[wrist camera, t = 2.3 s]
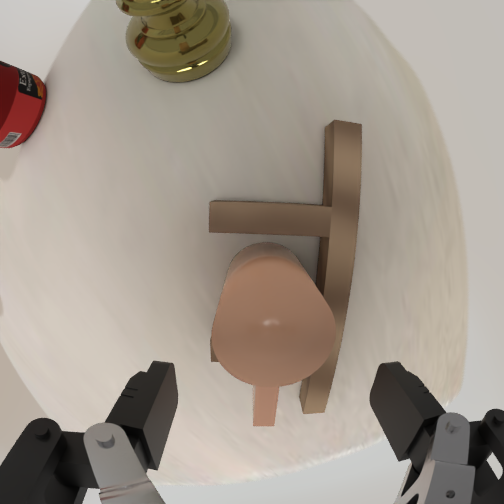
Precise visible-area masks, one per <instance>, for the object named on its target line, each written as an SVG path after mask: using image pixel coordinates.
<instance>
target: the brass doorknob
mask: <svg viewBox="0 0 504 504" xmlns="http://www.w3.org/2000/svg"><path fill="white" fill-rule="evenodd" d="M116 4H117V6H118V8H119V9H120V10H121V11H122V12H123V13H125V14H127V15H130V16H133V17H132V18H131V20H130V22H129V24H128V26H127V30H126V44H127V47H128V49H129V51H130V52H131V54H132V55H133V56H134V57H135V58H137V59H138V60H139V62H140V63H141V64H142V65H143V66H144V67H145V68H146V69H148V71H149V72H150V73H151V74H152V75H154V76H155V77H157V78H159V79H161V80H164V81H169V82H185V81H191V80H194V79H197V78H200V77H202V76H204V75H206V74H208V73H210V72H211V71H213V70H214V69H216V68H217V67H218V66H219V65H220V64H221V63H222V62H223V61H224V59H225V58H226V57H227V55H228V53H229V51H230V48H231V41H232V40H231V24H230V21H229V10H228V7H227V5H226V3H225V2H224V0H116Z"/></svg>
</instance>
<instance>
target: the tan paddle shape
mask: <svg viewBox="0 0 504 504" xmlns="http://www.w3.org/2000/svg"><path fill="white" fill-rule="evenodd" d="M335 338H336V324H335V318H334V316H333V313H332V311H331V309H330V307H329V305H328V304H327V302H326V301H325V299H324V298H323V296H322V295H321V293H320V291H319V290H318V288H317V287H316V285H315V284H314V282H313V281H312V279H311V278H310V276H309V275H308V273H307V272H306V270H305V269H304V267H303V266H302V264H301V263H300V261H299V260H298V258H297V257H296V256H295V255H294V254H293V253H292V252H291V251H290V250H289V249H287V248H286V247H284V246H282V245H279V244H275V243H269V242H262V243H256V244H253V245H250V246H248V247H246V248H245V249H243V250H242V251H240V252H239V253H238V254H237V255H236V256H235V257H234V259H233V260H232V262H231V264H230V266H229V268H228V272H227V275H226V279H225V282H224V286H223V290H222V293H221V297H220V300H219V304H218V308H217V311H216V315H215V319H214V323H213V327H212V336H211V339H212V346H213V350H214V353H215V355H216V357H217V359H218V361H219V362H220V364H221V365H222V366H223V367H224V369H225V370H227V371H228V372H229V373H230V374H231V375H233V376H234V377H235V378H237V379H239V380H241V381H243V382H246V383H248V384H251V385H253V426H274V423H275V416H276V408H277V401H278V393H279V387H280V386H286V385H290V384H293V383H296V382H299V381H301V380H303V379H305V378H307V377H308V376H310V375H311V374H313V373H314V372H315V371H316V370H318V369H319V368H320V367H321V366H322V365H323V363H324V362H325V361H326V360H327V358H328V356H329V355H330V353H331V351H332V348H333V346H334V342H335Z"/></svg>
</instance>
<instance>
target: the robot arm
mask: <svg viewBox="0 0 504 504" xmlns="http://www.w3.org/2000/svg"><path fill="white" fill-rule="evenodd" d="M177 404H178V390H177V383H176V376H175V368H174V364H173V363H168V362H160V361H153V362H152V364H151V366H150V367H149V369H148V371H147V372H141V371H140V372H138V373H137V374H135V375H134V376H133V377H131V378H130V380H129V381H128V383H127V385H126V386H125V389H124V390H123V391H122V393H121V396H120V397H119V398H118V400H117V402H116V403H115V405H114V407H113V409H112V410H111V412H110V414H109V416H108V417H107V419H106V421H105V422H104V423H98V424H95V425H93V426H91V427H90V428H88V429H87V431H86V432H85V433H80V432H67V431H62V430H61V428H60V427H59V425H58V424H57V423H56V422H55V421H54V420H51V419H48V418H39V419H35V420H33V421H31V422H30V423H29V424H28V425H27V427H26V428H25V429H24V431H23V432H22V434H21V435H20V437H19V438H18V440H17V441H16V443H15V444H14V446H13V447H12V449H11V450H10V452H9V453H8V455H7V456H6V458H5V460H4V461H3V463H2V464H1V466H0V504H82V503H83V500H84V497H85V494H86V492H87V489H88V488H96V489H100V491H101V493H99V497H100V500H101V503H102V504H165V502H164V501H163V499H162V498H161V496H160V494H159V493H158V491H157V490H156V488H155V486H154V485H153V483H152V482H151V481H150V480H149V478H148V476H147V475H146V472H147V469H153V470H158V467H159V464H160V461H161V457H162V454H163V451H164V447H165V444H166V441H167V438H168V434H169V431H170V428H171V425H172V421H173V418H174V415H175V412H176V409H177ZM370 405H371V407H372V409H373V411H374V413H375V415H376V417H377V419H378V421H379V423H380V425H381V427H382V429H383V431H384V433H385V435H386V437H387V439H388V441H389V443H390V445H391V447H392V449H393V451H394V453H395V455H396V457H397V459H398V461H402V460H406V459H409V458H410V460H411V463H410V465H409V466H408V469H407V472H406V475H405V477H404V480H403V483H402V486H401V488H400V491H399V493H398V496H397V498H396V501H395V503H394V504H504V411H503V410H500V409H492V410H489V411H488V412H487V413H486V415H485V417H484V418H483V420H482V421H473V422H468V420H467V419H466V418H465V417H464V416H462V415H460V414H458V413H446V411H445V410H444V409H443V408H442V406H441V405H440V404H439V403H438V401H437V400H436V399H435V397H434V396H433V395H432V394H431V392H430V393H429V390H428V389H427V387H426V386H425V387H424V384H423V382H422V381H421V380H420V379H419V378H418V377H417V376H415V375H414V374H412V373H411V372H409V371H408V372H407V371H406V370H405V368H404V367H403V366H402V365H401V363H400V362H398V361H397V362H390V363H382V364H380V366H379V368H378V371H377V374H376V377H375V380H374V383H373V386H372V389H371V392H370ZM492 452H493V453H494V455H495V456H496V458H497V459H498V461H499V463H500V464H501V466H502V468H503V474H502V476H501V478H500V479H499V480H498V479H497V477H496V475H495V473H494V472H493V470H492V469H491V467H490V465H489V464H488V462H487V461H486V460H487V458H488V457H489V456H490V455H491V453H492Z"/></svg>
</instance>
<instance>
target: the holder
mask: <svg viewBox="0 0 504 504" xmlns="http://www.w3.org/2000/svg"><path fill="white" fill-rule="evenodd" d="M361 158H362V124H357V123H352V122H345V121H339V120H334V121H332V122H331V123H330V124H329V125H327V126H326V127H325V157H324V185H323V205H314V204H298V203H279V202H256V201H223V200H214V201H211V202H210V208H209V232H214V233H246V234H273V235H297V236H319V237H320V247H319V258H318V269H317V278H316V287H317V288H318V290H319V291H320V293H321V295H322V296H323V298H324V299H325V301H326V302H327V304H328V305H329V307H330V309H331V311H332V313H333V316H334V318H335V324H336V338H335V342H334V346H333V348H332V351H331V353H330V355H329V356H328V358H327V360H326V361H325V362H324V363H323V365H322V366H321V367H320V368H319V369H318V370H316V371H315V372H314V373H313V374H311V375H310V376H308V377H307V378H305V379H303V380H302V385H301V391H300V396H299V397H300V402H301V406H302V411H303V414H311V413H324V412H325V408H326V404H327V401H328V397H329V393H330V389H331V385H332V381H333V377H334V373H335V369H336V364H337V360H338V355H339V351H340V346H341V341H342V336H343V331H344V325H345V320H346V314H347V308H348V302H349V296H350V289H351V282H352V275H353V267H354V259H355V250H356V241H357V231H358V219H359V205H360V188H361ZM211 336H212V335H211ZM210 346H211V362H219V361H218V359H217V357H216V355H215V353H214V350H213V346H212V339H210Z"/></svg>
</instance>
